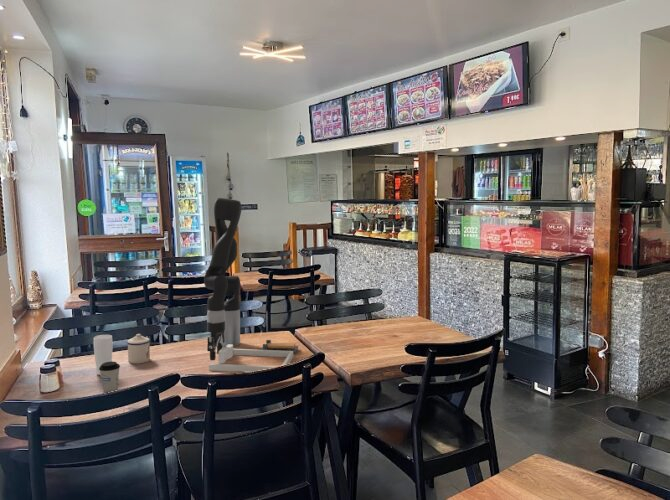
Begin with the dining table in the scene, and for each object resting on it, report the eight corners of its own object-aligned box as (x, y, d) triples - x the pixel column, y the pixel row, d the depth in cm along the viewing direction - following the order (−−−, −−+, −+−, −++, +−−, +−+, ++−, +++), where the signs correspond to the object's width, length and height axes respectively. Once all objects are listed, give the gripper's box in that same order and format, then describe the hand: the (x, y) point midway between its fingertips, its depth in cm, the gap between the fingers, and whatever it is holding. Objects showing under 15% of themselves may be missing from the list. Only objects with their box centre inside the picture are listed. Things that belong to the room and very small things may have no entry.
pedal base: (260, 353, 221) (260, 344, 221) (264, 348, 229) (264, 339, 229) (295, 354, 219) (295, 345, 219) (298, 349, 227) (298, 340, 227)
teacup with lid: (152, 362, 207) (151, 335, 206) (129, 365, 202) (128, 338, 201) (147, 354, 217) (147, 329, 216) (125, 357, 213) (125, 331, 212)
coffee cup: (114, 385, 180) (113, 359, 179) (124, 389, 176) (123, 362, 175) (95, 391, 175) (94, 364, 174) (106, 395, 171) (105, 368, 170)
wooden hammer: (264, 348, 222) (264, 345, 222) (266, 345, 227) (266, 342, 227) (293, 348, 221) (293, 345, 221) (295, 345, 226) (295, 342, 226)
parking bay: (209, 370, 197) (208, 364, 197) (226, 353, 220) (226, 348, 219) (283, 373, 195) (283, 367, 194) (293, 356, 217) (293, 351, 216)
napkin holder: (221, 366, 203) (221, 353, 203) (205, 360, 211) (205, 348, 210) (249, 358, 215) (249, 346, 214) (233, 353, 222) (233, 341, 222)
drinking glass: (98, 370, 196) (97, 334, 194) (116, 370, 196) (114, 334, 195) (91, 376, 189) (90, 339, 187) (109, 376, 189) (108, 339, 188)
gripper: (213, 315, 214) (213, 351, 216) (201, 323, 200) (201, 361, 202) (230, 316, 213) (230, 352, 215) (218, 324, 199) (218, 362, 201)
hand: (216, 356), depth 208 cm, fingers open, 8 cm apart
